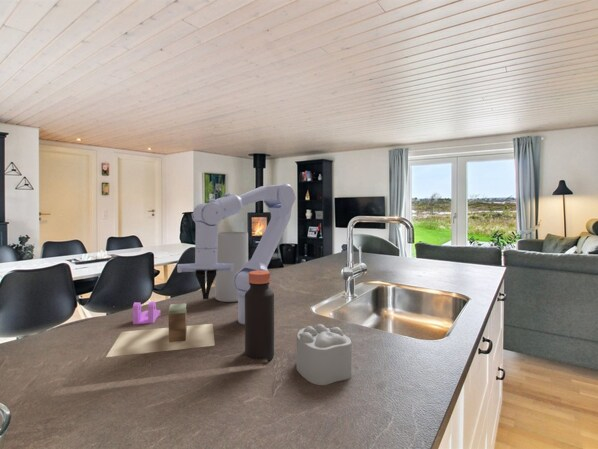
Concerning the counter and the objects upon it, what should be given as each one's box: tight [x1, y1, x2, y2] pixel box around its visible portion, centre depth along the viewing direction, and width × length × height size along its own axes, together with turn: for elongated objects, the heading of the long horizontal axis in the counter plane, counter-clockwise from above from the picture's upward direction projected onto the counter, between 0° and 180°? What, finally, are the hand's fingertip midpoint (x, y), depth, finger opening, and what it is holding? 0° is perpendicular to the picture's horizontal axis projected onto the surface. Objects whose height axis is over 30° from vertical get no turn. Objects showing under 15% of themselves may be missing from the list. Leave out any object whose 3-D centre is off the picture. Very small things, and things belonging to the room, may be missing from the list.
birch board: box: [105, 323, 216, 358], centre depth 88 cm, size 24×16×1 cm, turn 106°
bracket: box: [132, 301, 161, 325], centre depth 105 cm, size 13×6×7 cm, turn 12°
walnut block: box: [168, 302, 188, 342], centre depth 88 cm, size 4×6×8 cm, turn 16°
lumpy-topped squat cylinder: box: [296, 323, 353, 386], centre depth 74 cm, size 10×13×9 cm
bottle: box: [244, 270, 275, 362], centre depth 79 cm, size 7×7×20 cm
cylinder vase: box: [214, 231, 249, 303], centre depth 129 cm, size 12×12×25 cm
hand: (205, 298), depth 91 cm, fingers closed
